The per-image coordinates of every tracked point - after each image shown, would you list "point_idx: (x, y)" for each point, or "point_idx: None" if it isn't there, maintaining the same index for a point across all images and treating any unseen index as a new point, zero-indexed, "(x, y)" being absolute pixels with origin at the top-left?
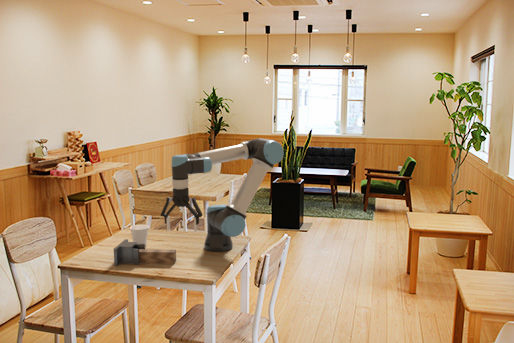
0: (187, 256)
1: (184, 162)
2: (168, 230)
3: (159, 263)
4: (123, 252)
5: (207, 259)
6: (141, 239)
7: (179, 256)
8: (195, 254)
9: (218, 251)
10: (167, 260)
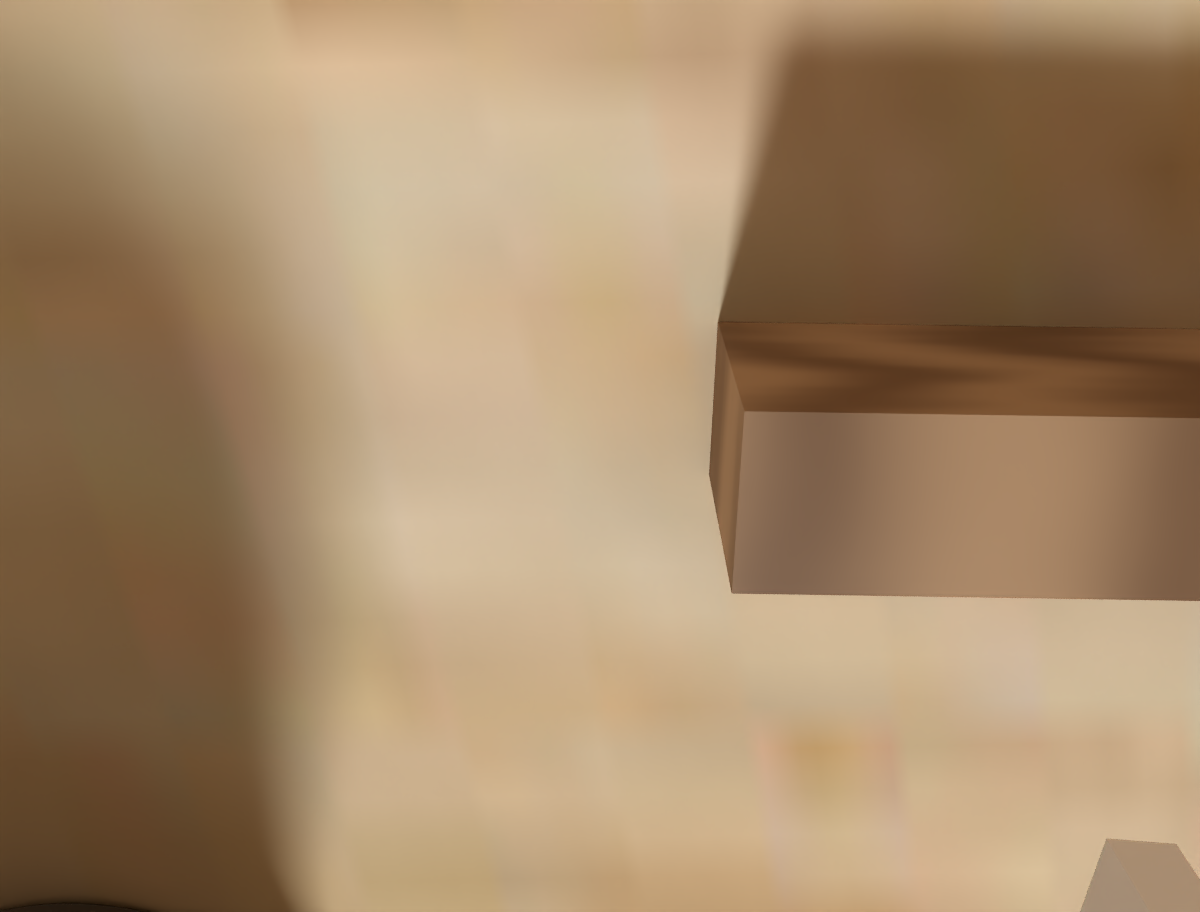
0: (536, 697)
1: None
2: (1116, 855)
3: (1031, 328)
4: None
5: (126, 564)
6: None
7: (683, 694)
8: (414, 787)
9: (47, 905)
10: (878, 344)
